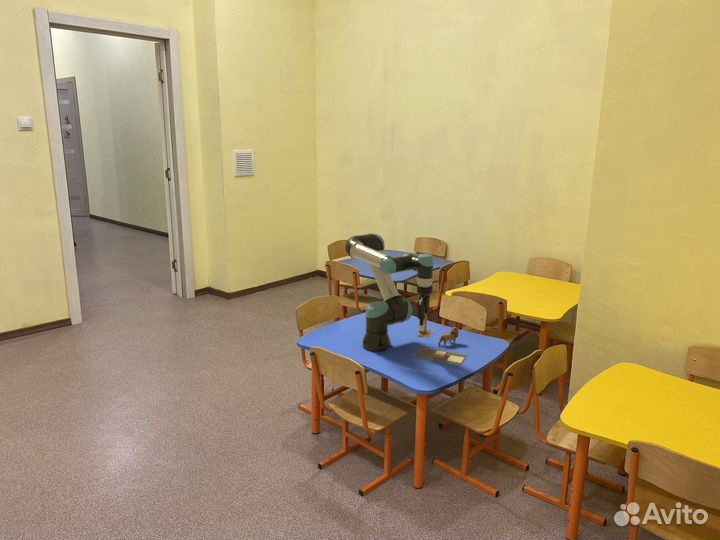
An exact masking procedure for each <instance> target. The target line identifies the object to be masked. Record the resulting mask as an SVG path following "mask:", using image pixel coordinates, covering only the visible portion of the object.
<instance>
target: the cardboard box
mask: <svg viewBox="0 0 720 540" xmlns="http://www.w3.org/2000/svg"><path fill="white" fill-rule="evenodd" d="M424 319H425V329H424V331H419V330H418V333H417V334H416V337H417V338H424V339H430V337H431V336H433V334H434V333H435V331H434V330H430V329H428V316H427V313H425V316H424Z"/></svg>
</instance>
